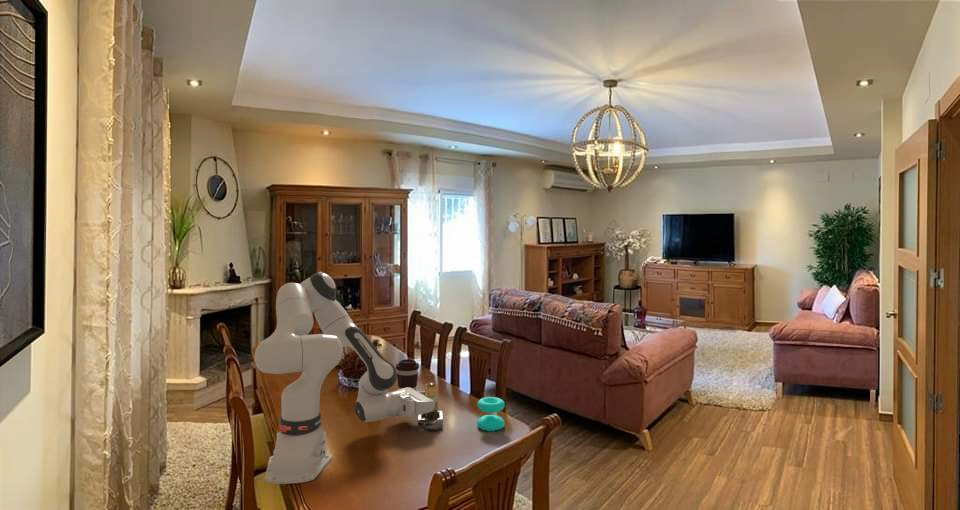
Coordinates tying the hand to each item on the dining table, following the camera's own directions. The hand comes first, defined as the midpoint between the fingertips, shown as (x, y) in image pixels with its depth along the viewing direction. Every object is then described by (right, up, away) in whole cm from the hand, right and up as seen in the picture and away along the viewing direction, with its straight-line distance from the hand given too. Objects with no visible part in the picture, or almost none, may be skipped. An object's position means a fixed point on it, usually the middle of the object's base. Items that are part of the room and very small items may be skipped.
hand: (432, 395), depth 198 cm
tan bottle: (-1, -8, +1) cm, 8 cm away
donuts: (+22, -10, -7) cm, 25 cm away
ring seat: (-1, -9, 0) cm, 9 cm away
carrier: (+1, -9, -7) cm, 11 cm away
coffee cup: (-14, -7, +27) cm, 31 cm away
